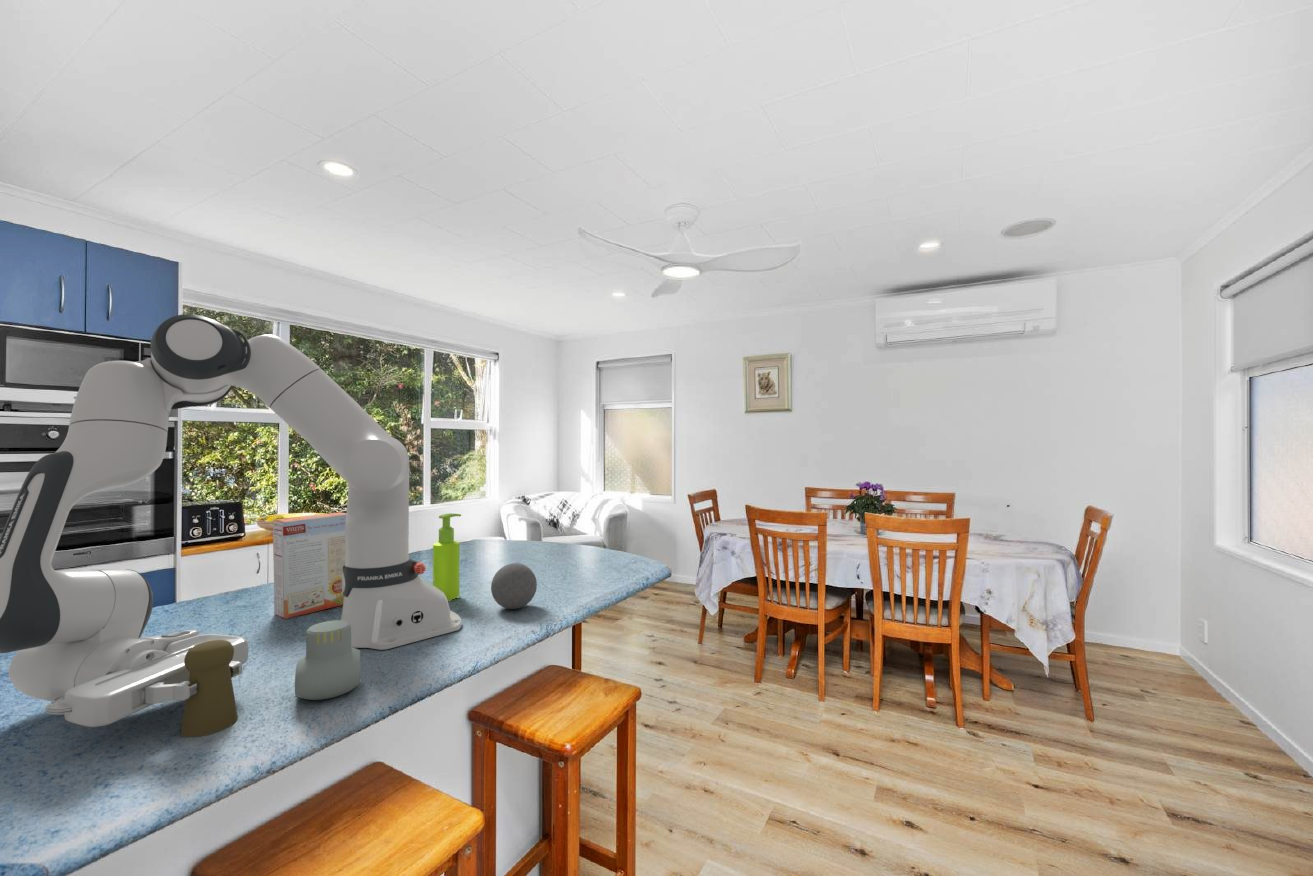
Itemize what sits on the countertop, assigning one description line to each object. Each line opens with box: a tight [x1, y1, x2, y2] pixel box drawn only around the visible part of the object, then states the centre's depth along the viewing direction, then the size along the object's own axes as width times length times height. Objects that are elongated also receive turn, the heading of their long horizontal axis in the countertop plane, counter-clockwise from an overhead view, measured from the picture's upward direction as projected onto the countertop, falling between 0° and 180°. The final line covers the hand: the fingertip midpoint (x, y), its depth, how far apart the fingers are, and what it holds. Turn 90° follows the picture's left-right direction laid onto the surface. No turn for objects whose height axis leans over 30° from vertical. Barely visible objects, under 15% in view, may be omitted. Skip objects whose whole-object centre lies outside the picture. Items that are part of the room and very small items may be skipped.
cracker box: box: [272, 511, 347, 620], centre depth 124 cm, size 14×6×21 cm, turn 144°
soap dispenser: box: [432, 513, 462, 601], centre depth 133 cm, size 6×7×20 cm
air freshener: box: [294, 619, 362, 701], centre depth 84 cm, size 11×8×10 cm
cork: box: [179, 640, 239, 738], centre depth 74 cm, size 6×6×11 cm
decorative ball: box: [490, 562, 538, 610], centre depth 125 cm, size 10×10×10 cm
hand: (215, 680), depth 74 cm, fingers open, 5 cm apart
